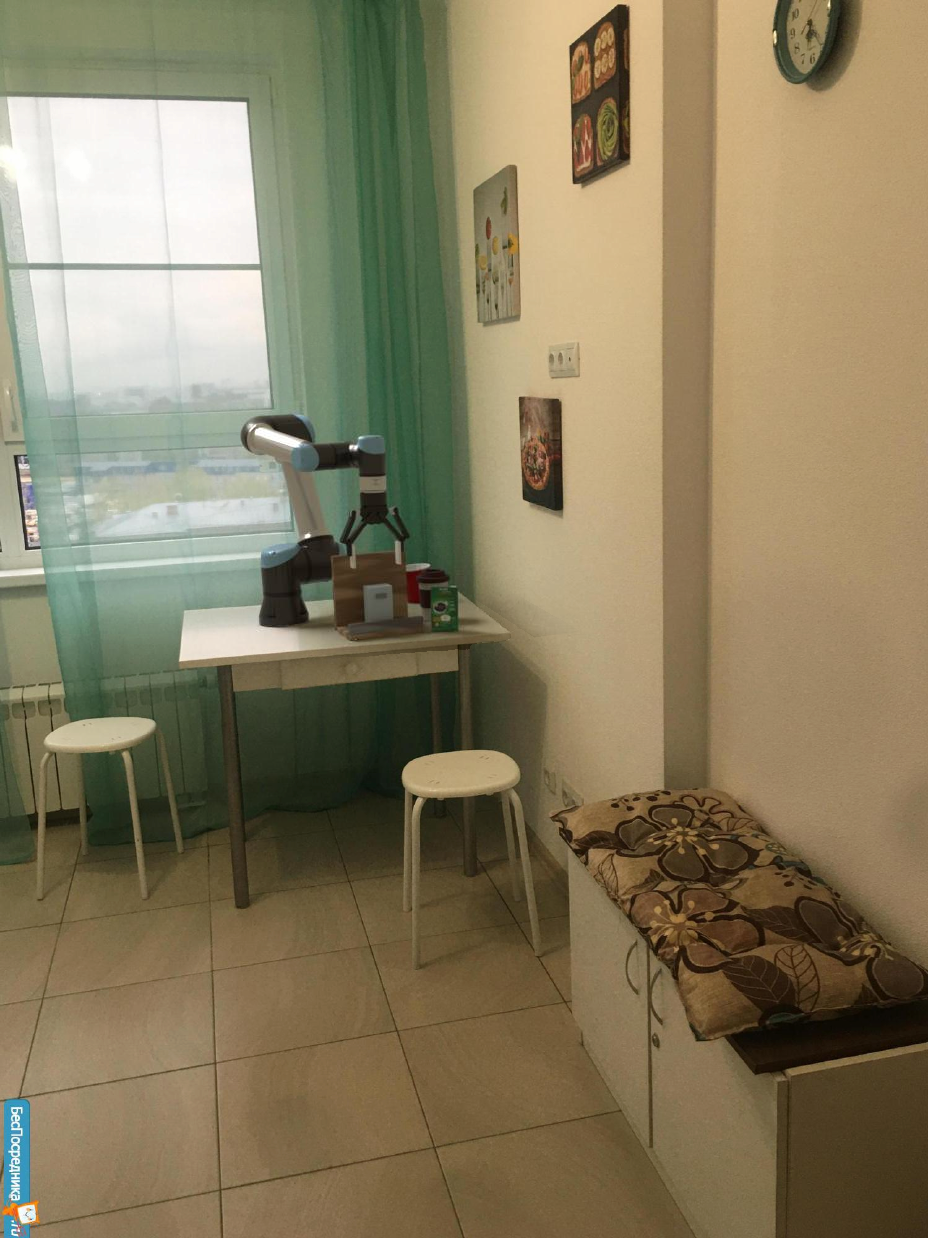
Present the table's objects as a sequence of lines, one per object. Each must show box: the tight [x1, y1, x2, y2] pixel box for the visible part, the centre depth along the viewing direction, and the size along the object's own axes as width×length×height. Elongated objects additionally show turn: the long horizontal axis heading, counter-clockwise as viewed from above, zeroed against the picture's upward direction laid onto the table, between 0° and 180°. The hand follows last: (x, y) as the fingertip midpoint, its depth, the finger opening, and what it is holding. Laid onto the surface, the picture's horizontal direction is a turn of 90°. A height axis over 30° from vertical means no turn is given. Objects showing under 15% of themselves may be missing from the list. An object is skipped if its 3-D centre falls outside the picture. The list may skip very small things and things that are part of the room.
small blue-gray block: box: [363, 583, 393, 622], centre depth 313 cm, size 6×7×12 cm
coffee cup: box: [417, 568, 451, 623], centre depth 328 cm, size 10×10×15 cm
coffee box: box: [430, 585, 459, 632], centre depth 313 cm, size 8×3×13 cm, turn 88°
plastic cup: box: [406, 563, 431, 604], centre depth 357 cm, size 11×11×12 cm
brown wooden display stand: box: [331, 549, 425, 641], centre depth 313 cm, size 15×22×22 cm
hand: (376, 565), depth 312 cm, fingers open, 13 cm apart
